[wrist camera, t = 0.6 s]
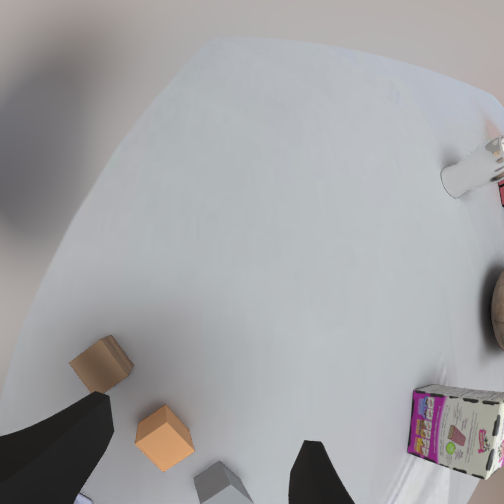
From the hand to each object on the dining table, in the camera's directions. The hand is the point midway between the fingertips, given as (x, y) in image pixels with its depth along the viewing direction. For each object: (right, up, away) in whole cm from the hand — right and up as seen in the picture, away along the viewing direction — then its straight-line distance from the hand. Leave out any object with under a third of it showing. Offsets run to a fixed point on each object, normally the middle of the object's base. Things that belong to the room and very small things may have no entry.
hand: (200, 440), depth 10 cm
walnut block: (-13, -5, +20) cm, 24 cm away
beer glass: (+39, +20, +40) cm, 59 cm away
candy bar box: (+28, -19, +29) cm, 45 cm away
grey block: (-2, -20, +20) cm, 29 cm away
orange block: (-8, -12, +20) cm, 25 cm away
